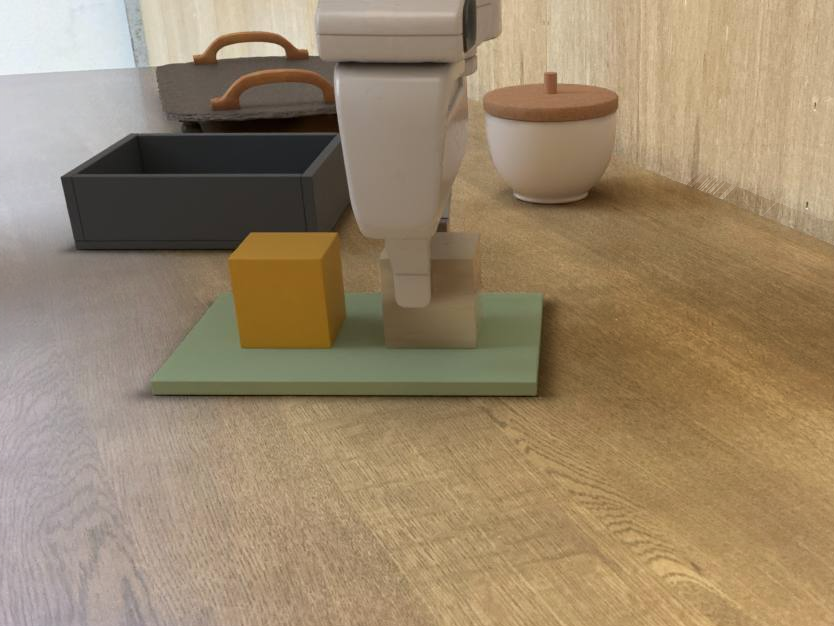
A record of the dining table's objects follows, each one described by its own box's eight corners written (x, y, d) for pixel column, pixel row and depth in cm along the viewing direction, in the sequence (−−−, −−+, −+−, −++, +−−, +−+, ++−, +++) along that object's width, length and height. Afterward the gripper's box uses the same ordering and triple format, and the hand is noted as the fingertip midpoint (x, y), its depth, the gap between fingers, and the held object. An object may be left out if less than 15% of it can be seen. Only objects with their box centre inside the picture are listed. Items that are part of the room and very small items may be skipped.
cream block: (385, 348, 62) (378, 258, 60) (397, 317, 67) (391, 232, 64) (476, 348, 62) (472, 258, 60) (482, 317, 67) (479, 231, 64)
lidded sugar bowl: (465, 188, 96) (460, 68, 91) (576, 173, 100) (577, 58, 95) (521, 218, 88) (519, 89, 83) (640, 200, 92) (645, 76, 87)
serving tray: (157, 87, 140) (147, 32, 137) (344, 76, 146) (339, 23, 143) (169, 152, 108) (157, 83, 105) (408, 134, 114) (403, 68, 111)
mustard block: (240, 348, 63) (227, 258, 60) (262, 317, 67) (250, 232, 64) (331, 348, 62) (321, 259, 60) (346, 317, 67) (338, 232, 64)
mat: (152, 395, 59) (149, 380, 59) (223, 304, 71) (221, 292, 71) (536, 396, 59) (536, 381, 58) (543, 304, 71) (543, 292, 70)
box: (75, 249, 82) (59, 176, 79) (142, 197, 94) (130, 133, 92) (319, 249, 81) (311, 176, 79) (353, 196, 94) (348, 132, 91)
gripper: (378, -23, 65) (393, 221, 72) (305, 23, 47) (335, 340, 54) (489, -22, 65) (493, 222, 72) (457, 24, 47) (467, 341, 54)
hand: (425, 274), depth 63 cm, fingers open, 8 cm apart
